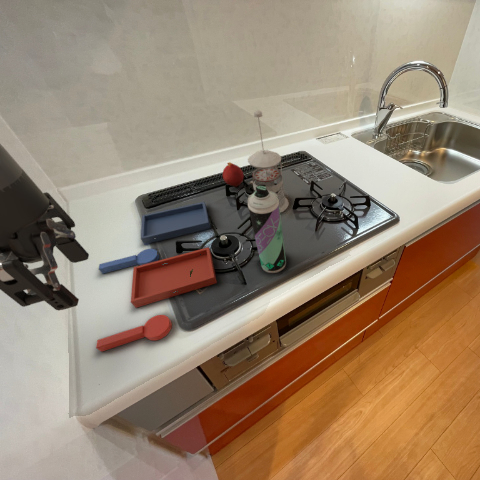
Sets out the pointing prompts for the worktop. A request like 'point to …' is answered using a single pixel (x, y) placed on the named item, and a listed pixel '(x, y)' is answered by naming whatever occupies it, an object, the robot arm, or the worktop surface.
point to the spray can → (267, 229)
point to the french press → (268, 170)
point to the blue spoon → (130, 261)
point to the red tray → (172, 277)
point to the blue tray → (174, 222)
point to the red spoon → (138, 333)
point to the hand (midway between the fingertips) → (76, 281)
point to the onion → (233, 174)
